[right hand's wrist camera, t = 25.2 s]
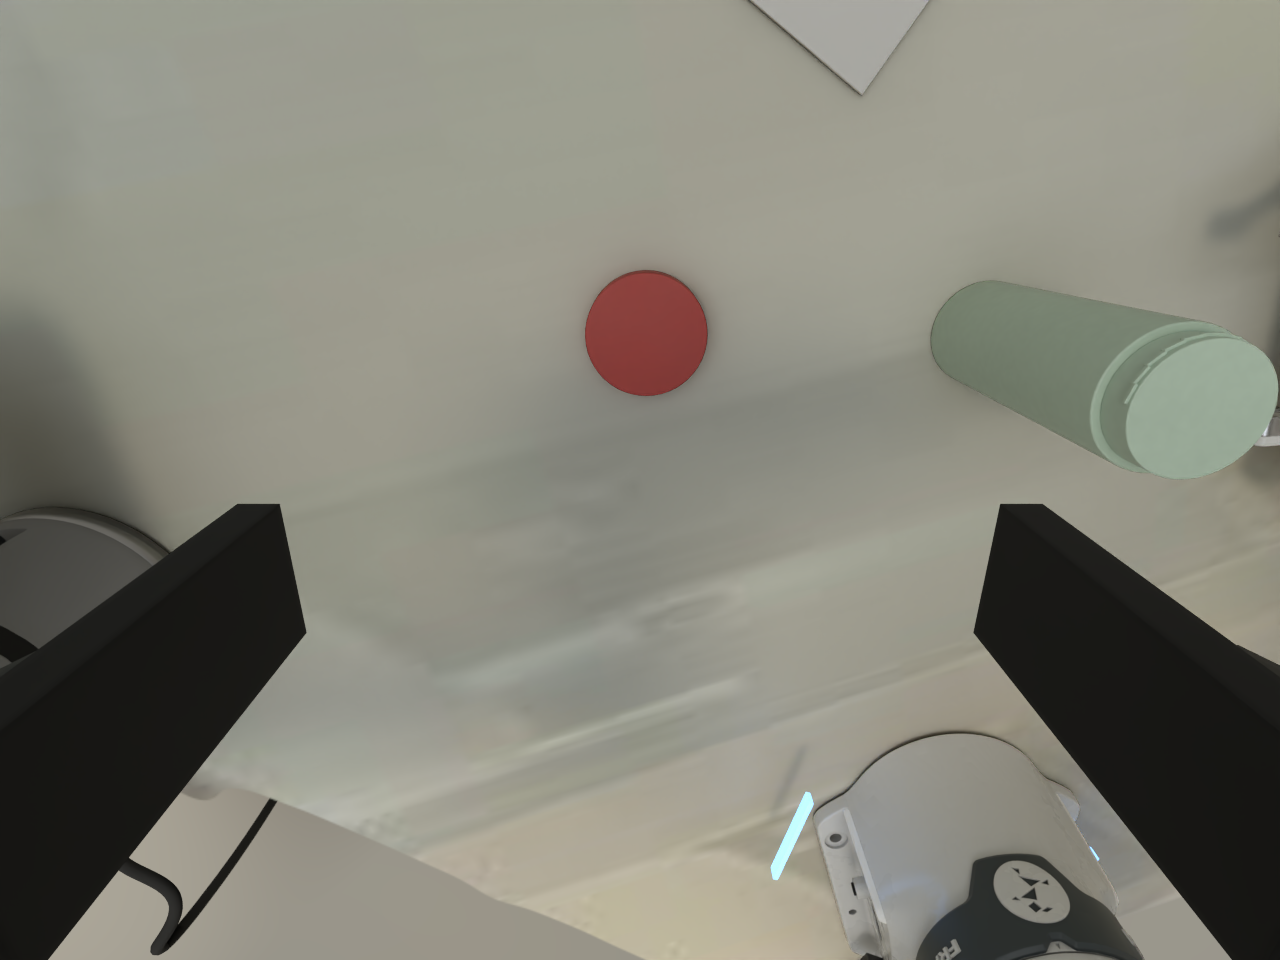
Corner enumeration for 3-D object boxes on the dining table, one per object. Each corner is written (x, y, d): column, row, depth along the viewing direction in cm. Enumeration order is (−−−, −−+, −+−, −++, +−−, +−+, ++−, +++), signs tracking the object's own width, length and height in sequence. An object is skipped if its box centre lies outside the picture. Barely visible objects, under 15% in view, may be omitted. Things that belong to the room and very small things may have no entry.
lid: (563, 332, 38) (559, 337, 36) (645, 243, 36) (645, 245, 35) (646, 411, 39) (646, 419, 38) (729, 330, 38) (732, 335, 36)
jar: (1050, 294, 37) (1323, 350, 22) (1007, 392, 39) (1231, 503, 24) (954, 269, 37) (1168, 309, 22) (915, 369, 39) (1086, 469, 24)
